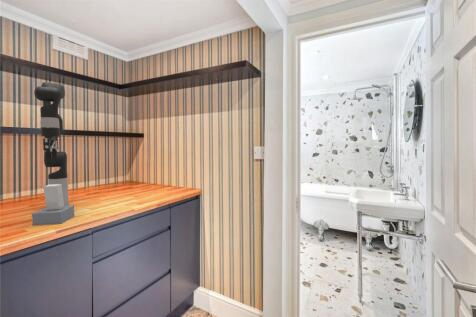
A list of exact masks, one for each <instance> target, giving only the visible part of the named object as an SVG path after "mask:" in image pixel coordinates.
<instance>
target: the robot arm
mask: <svg viewBox="0 0 476 317" xmlns="http://www.w3.org/2000/svg"><path fill="white" fill-rule="evenodd" d="M33 93H34V97H35V98H36V99H37V100H38V101H41V102H42V106H40V124H39V126H40V136H41V137H43V138H42V145H43V146H42V149H43V164H44V167H46V168H59V169H57V170H56V171H54V172H50V173H48V176H47V181H48V185H51V184H62V192H63V200H64V206H70V204H69V182H68V180H69V179H68V178H69V177H68V154H67V152H65V151H59V149H60V148H59V137H61V135H62V133H63V132H64V124H63V123H64V122H63V118H62V116H61V115H60V114H59V106H60V103H61V100H62V99H64V98H65V96H66V91H65V86H64V85H63V84H60V83H56V82H48V81H47V82H44V81H43V82H42V84H41V86H40V85H39V86H37V87H35V89H34V92H33ZM51 102H52V103H51Z"/></svg>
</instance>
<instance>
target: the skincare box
mask: <svg viewBox="0 0 476 317" xmlns="http://www.w3.org/2000/svg"><path fill="white" fill-rule="evenodd" d="M42 188H43V195H44V199H45V201H44V202H45V206H46V207H45V208H46V209H47V210H59V209H62V208H64V200H63V192H62V184H51V185H49V184H46V185H44V186H43V187H42Z"/></svg>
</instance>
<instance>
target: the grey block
mask: <svg viewBox="0 0 476 317" xmlns="http://www.w3.org/2000/svg"><path fill="white" fill-rule="evenodd" d="M74 217H75V205H68V206H64V208H62V209H59V210H47V209H46V207H44V208H42V209H39V210H37V211H34V212H33V213H31V219H32V220H31V221H32V226H45V225H46V226H47V225H62V224H63V223H65V222H67V221H69V220H71V219H72V218H74Z"/></svg>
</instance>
